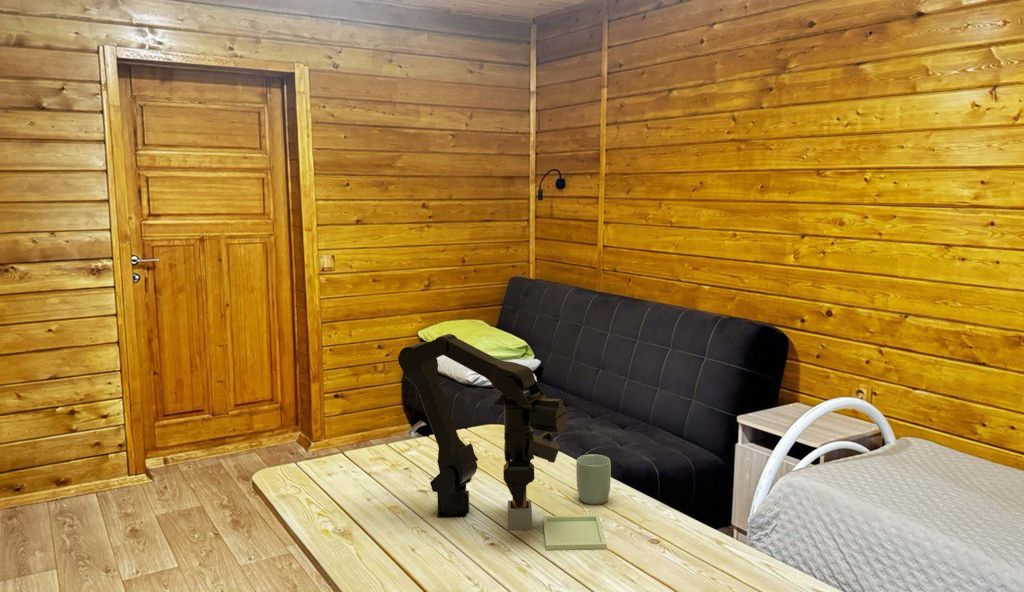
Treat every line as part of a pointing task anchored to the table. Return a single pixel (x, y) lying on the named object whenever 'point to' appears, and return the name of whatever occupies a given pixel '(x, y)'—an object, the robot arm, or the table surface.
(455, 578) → the table surface
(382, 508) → the table surface
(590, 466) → the cup
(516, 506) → the dowel
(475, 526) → the table surface
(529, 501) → the pen cup
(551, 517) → the tray
